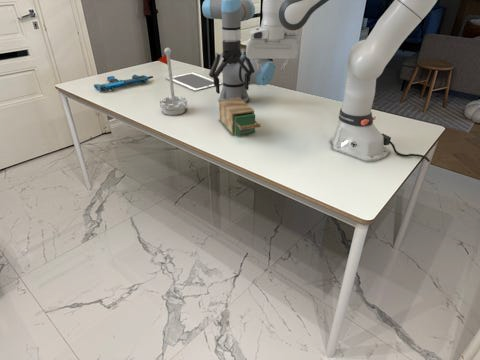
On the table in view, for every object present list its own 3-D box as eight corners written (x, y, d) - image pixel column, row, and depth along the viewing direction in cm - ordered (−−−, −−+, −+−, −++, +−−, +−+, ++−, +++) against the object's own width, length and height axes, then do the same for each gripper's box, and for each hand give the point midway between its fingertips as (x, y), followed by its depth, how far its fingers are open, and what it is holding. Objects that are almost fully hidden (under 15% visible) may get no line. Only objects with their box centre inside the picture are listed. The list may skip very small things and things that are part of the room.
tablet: (166, 78, 215) (166, 78, 215) (192, 72, 226) (192, 72, 226) (195, 91, 195) (194, 90, 195) (222, 83, 206) (222, 83, 206)
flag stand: (184, 104, 177) (178, 43, 160) (190, 113, 167) (184, 49, 150) (159, 107, 173) (150, 46, 156) (163, 117, 163) (155, 52, 146)
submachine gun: (139, 69, 223) (157, 75, 206) (140, 75, 225) (158, 81, 208) (86, 79, 204) (101, 87, 188) (88, 85, 206) (103, 94, 190)
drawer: (260, 137, 142) (261, 119, 138) (240, 141, 140) (240, 123, 135) (241, 118, 159) (241, 102, 155) (223, 121, 157) (222, 104, 152)
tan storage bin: (253, 131, 149) (254, 110, 144) (232, 135, 146) (232, 113, 141) (239, 117, 163) (239, 97, 157) (219, 120, 160) (218, 100, 154)
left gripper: (255, 36, 146) (254, 84, 157) (199, 40, 138) (202, 91, 149) (263, 39, 140) (261, 89, 151) (205, 44, 132) (208, 97, 144)
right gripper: (298, 31, 131) (295, 67, 139) (246, 30, 131) (245, 67, 138) (301, 34, 126) (297, 72, 133) (246, 34, 125) (245, 71, 133)
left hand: (232, 90), depth 150 cm, fingers open, 13 cm apart
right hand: (270, 69), depth 136 cm, fingers open, 8 cm apart
